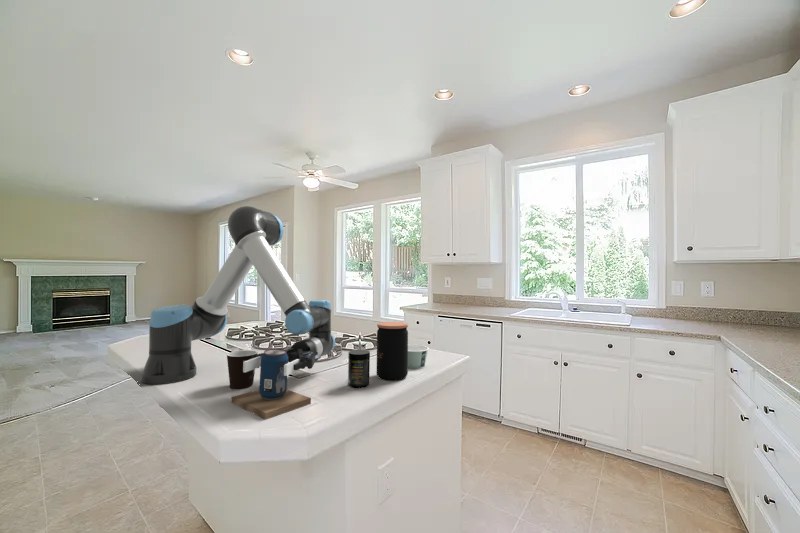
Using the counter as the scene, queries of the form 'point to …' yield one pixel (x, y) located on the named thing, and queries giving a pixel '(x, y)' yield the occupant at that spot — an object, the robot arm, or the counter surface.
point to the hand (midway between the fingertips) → (264, 368)
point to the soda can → (273, 374)
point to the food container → (417, 355)
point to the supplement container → (358, 368)
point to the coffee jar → (392, 350)
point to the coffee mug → (240, 369)
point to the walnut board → (270, 403)
